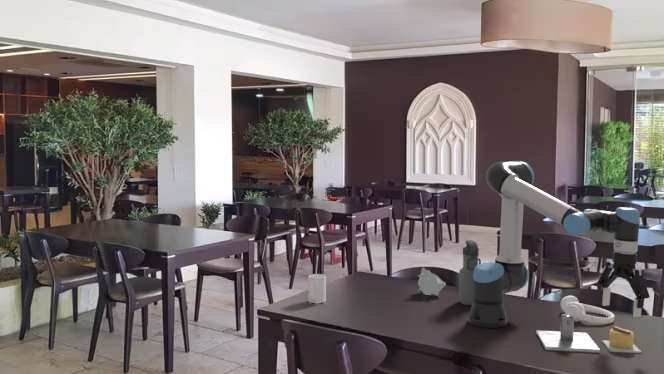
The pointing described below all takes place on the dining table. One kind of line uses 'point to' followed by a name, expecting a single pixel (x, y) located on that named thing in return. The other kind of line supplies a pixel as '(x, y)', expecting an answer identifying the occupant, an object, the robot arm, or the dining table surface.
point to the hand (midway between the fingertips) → (620, 310)
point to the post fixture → (567, 338)
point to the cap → (621, 338)
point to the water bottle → (468, 272)
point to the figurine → (430, 282)
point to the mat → (612, 349)
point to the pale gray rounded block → (317, 288)
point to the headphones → (578, 311)
